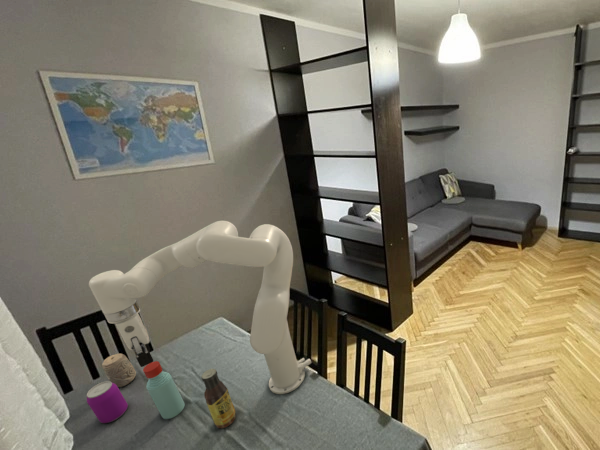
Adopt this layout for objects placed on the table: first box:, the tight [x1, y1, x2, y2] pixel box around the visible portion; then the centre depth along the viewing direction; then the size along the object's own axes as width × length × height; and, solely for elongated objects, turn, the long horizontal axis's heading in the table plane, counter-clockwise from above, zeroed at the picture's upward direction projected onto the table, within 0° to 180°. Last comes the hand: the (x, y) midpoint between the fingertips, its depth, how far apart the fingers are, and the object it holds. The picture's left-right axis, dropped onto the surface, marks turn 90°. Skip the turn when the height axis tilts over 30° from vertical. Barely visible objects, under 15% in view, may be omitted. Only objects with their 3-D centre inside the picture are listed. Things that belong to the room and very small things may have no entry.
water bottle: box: [146, 371, 186, 420], centre depth 103 cm, size 7×7×20 cm
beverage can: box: [86, 380, 129, 424], centre depth 105 cm, size 8×8×12 cm
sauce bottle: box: [200, 368, 237, 429], centre depth 98 cm, size 6×6×20 cm
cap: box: [142, 360, 163, 379], centre depth 100 cm, size 4×4×3 cm
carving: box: [101, 352, 137, 388], centre depth 117 cm, size 6×8×12 cm
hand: (145, 357), depth 98 cm, fingers open, 5 cm apart
